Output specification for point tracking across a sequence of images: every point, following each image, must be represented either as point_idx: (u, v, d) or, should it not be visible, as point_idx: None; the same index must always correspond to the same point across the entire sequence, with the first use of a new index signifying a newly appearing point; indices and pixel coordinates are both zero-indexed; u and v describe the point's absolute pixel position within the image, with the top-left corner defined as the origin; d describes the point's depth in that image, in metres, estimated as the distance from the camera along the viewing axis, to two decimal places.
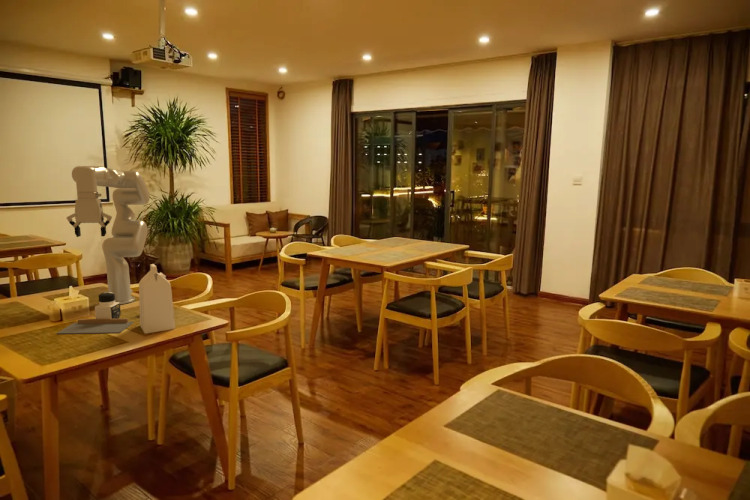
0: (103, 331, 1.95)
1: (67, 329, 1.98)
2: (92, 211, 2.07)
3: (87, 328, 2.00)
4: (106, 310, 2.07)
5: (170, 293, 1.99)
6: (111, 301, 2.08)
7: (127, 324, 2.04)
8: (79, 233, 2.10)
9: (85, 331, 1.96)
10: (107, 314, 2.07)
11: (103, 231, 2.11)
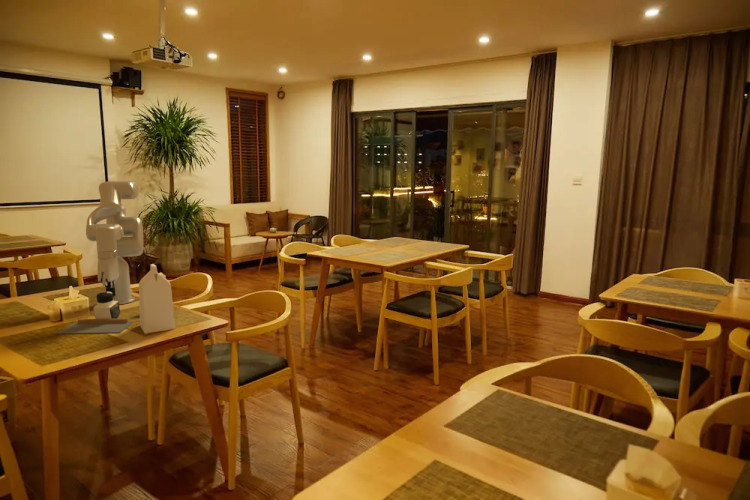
0: (103, 331, 1.95)
1: (67, 329, 1.98)
2: (116, 268, 2.13)
3: (87, 328, 2.00)
4: (105, 311, 2.06)
5: (170, 293, 1.99)
6: (109, 301, 2.07)
7: (127, 324, 2.04)
8: None
9: (85, 331, 1.96)
10: (106, 314, 2.07)
11: None
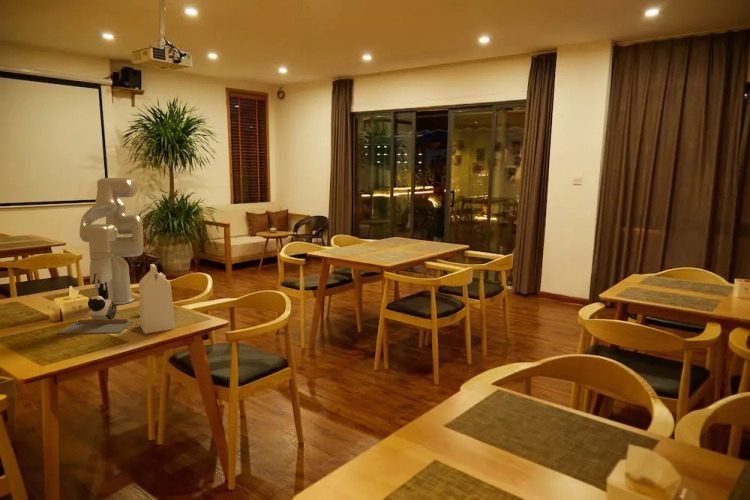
0: (103, 331, 1.95)
1: (67, 329, 1.98)
2: (109, 270, 2.07)
3: (87, 328, 2.00)
4: (102, 316, 2.03)
5: (170, 293, 1.99)
6: (103, 308, 2.02)
7: (127, 324, 2.04)
8: None
9: (85, 331, 1.96)
10: (104, 318, 2.05)
11: None
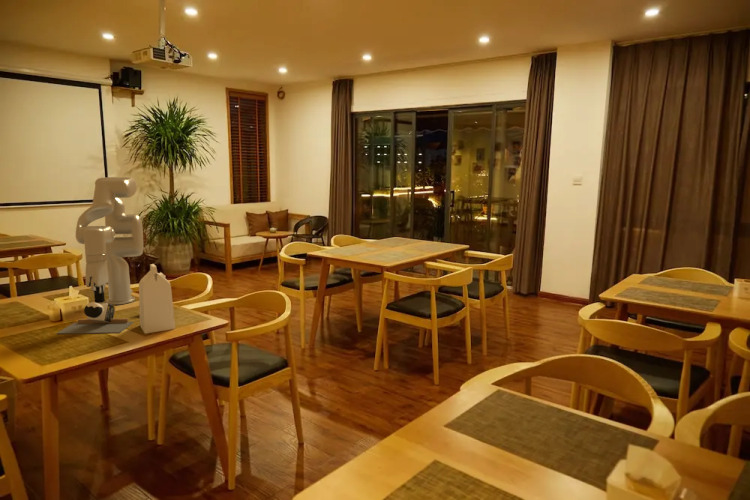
0: (103, 331, 1.95)
1: (67, 329, 1.98)
2: (105, 273, 2.04)
3: (87, 328, 2.00)
4: (101, 320, 2.03)
5: (170, 293, 1.99)
6: (100, 314, 2.00)
7: (127, 324, 2.04)
8: None
9: (85, 331, 1.96)
10: (103, 321, 2.04)
11: None
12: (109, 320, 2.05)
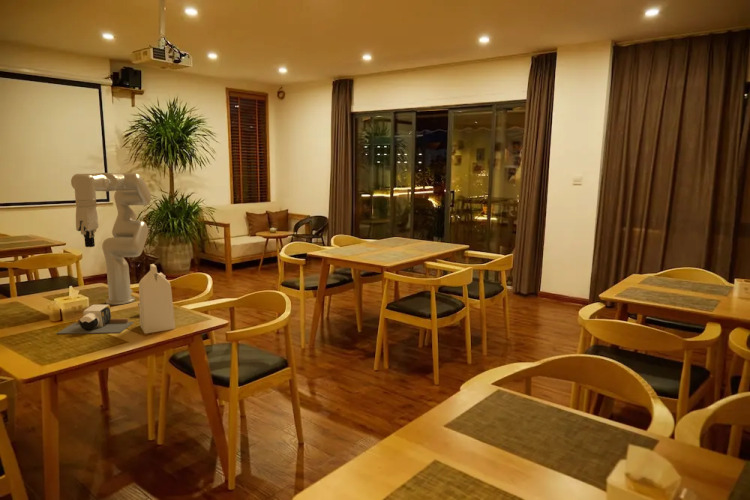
0: (103, 331, 1.95)
1: (67, 329, 1.98)
2: (95, 218, 2.12)
3: None
4: None
5: (170, 293, 1.99)
6: (97, 324, 1.99)
7: (127, 324, 2.04)
8: None
9: (85, 331, 1.96)
10: None
11: None
12: (108, 321, 2.05)
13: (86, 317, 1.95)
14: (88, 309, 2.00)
